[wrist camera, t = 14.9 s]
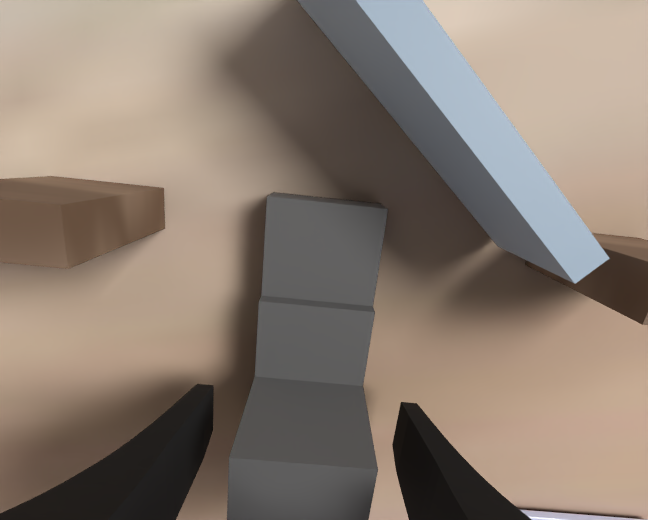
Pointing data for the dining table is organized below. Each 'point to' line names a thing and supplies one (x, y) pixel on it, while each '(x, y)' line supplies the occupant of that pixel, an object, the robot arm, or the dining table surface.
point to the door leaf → (459, 129)
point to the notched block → (310, 366)
